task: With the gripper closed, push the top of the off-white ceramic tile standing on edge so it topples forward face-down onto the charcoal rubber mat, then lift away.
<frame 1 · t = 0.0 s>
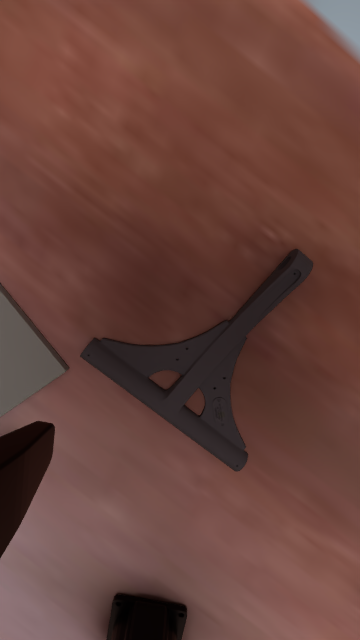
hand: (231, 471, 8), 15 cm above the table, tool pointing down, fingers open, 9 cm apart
bracket: (225, 337, 23), on the table
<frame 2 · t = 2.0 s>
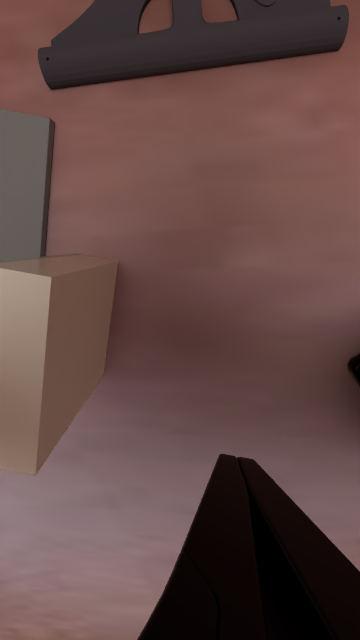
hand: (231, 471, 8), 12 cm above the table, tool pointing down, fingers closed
tile: (110, 319, 19), on the table
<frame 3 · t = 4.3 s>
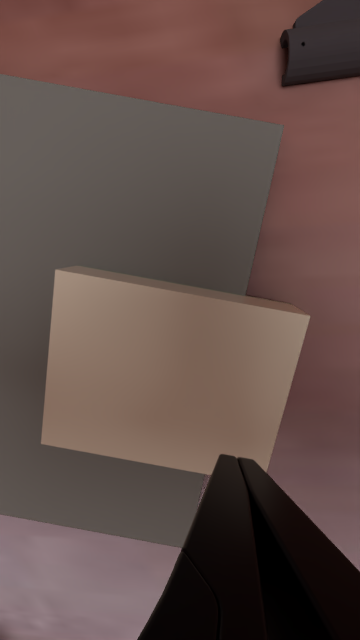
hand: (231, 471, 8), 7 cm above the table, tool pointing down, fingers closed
tile: (285, 406, 12), point 3 cm above the table, tilted 90°, touching mat
mat: (78, 339, 15), on the table
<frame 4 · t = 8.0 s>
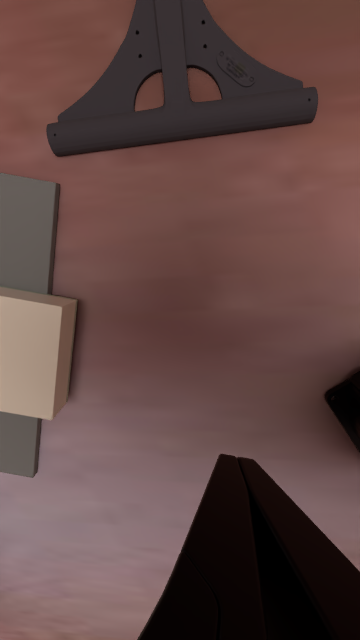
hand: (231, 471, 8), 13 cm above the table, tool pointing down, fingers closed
tile: (56, 366, 18), point 3 cm above the table, tilted 90°, touching mat
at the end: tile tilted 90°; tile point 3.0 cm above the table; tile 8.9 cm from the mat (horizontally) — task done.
